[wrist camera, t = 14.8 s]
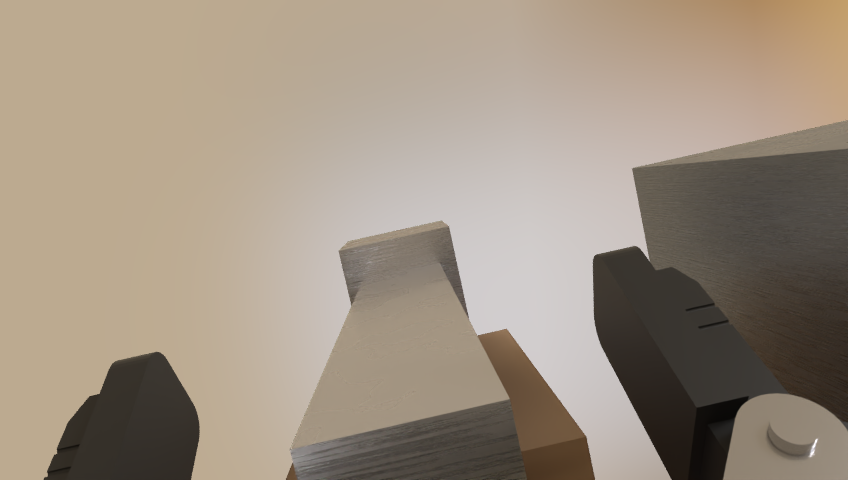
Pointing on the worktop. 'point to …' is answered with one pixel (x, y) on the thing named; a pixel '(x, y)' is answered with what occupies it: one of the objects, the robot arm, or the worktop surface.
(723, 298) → the tall dark grey pillar
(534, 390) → the block
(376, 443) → the lever
